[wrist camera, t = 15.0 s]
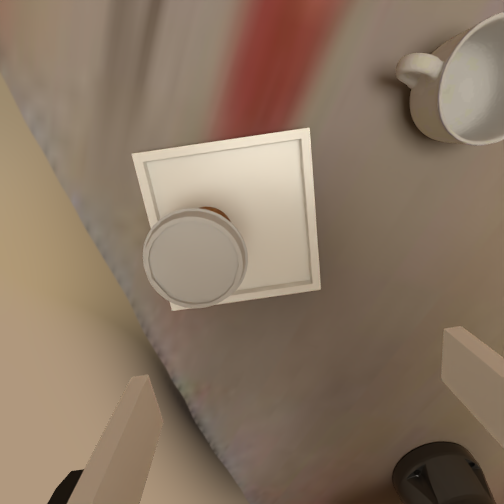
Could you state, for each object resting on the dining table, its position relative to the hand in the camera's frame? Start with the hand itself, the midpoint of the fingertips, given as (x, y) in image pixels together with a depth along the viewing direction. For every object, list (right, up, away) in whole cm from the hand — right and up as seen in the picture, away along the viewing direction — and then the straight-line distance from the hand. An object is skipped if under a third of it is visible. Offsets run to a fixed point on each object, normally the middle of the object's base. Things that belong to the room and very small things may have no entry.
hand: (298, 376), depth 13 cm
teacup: (+19, +24, +21) cm, 37 cm away
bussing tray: (-4, +9, +25) cm, 27 cm away
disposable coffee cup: (-8, +8, +24) cm, 26 cm away
